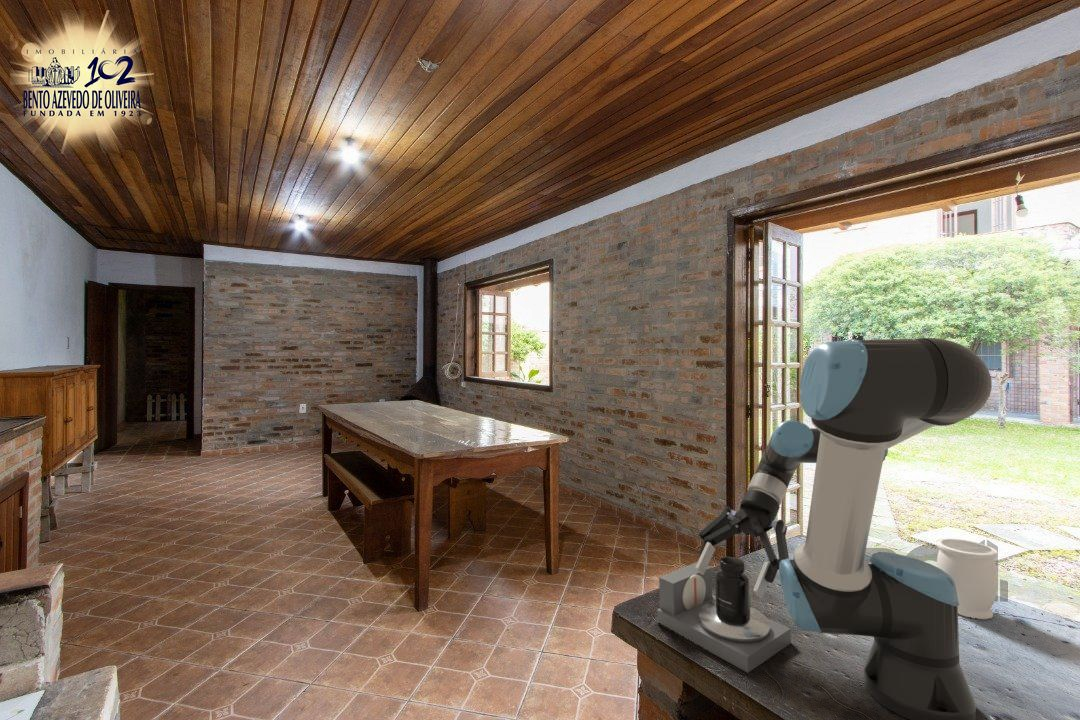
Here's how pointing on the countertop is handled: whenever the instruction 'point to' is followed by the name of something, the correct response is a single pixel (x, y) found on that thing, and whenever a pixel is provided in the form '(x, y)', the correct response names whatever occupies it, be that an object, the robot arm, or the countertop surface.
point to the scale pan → (739, 633)
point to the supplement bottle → (732, 592)
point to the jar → (970, 575)
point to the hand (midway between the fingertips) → (726, 582)
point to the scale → (681, 614)
